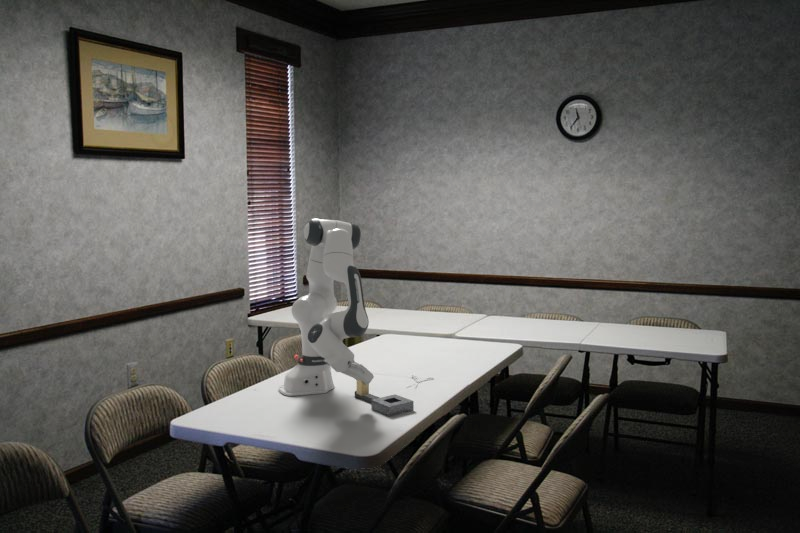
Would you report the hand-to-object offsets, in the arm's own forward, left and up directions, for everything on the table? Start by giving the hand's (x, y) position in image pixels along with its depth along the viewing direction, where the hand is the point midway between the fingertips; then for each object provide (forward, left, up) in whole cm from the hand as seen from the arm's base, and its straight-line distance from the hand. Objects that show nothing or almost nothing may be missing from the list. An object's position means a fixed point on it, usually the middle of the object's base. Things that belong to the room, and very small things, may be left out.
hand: (364, 381), depth 253 cm
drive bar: (-1, 0, -4) cm, 4 cm away
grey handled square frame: (+7, +4, -10) cm, 13 cm away
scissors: (+34, +24, -11) cm, 43 cm away
